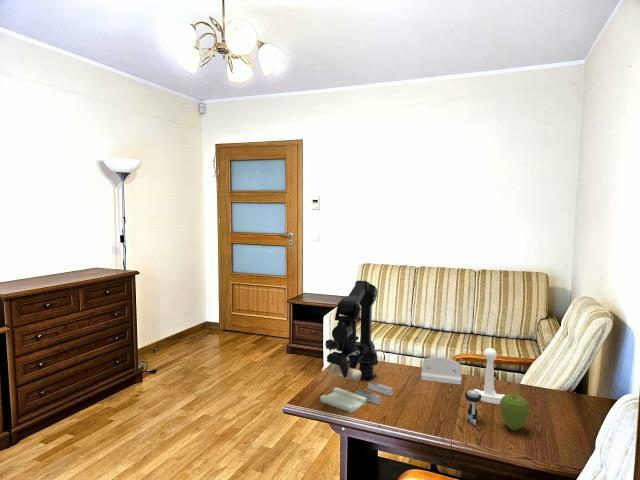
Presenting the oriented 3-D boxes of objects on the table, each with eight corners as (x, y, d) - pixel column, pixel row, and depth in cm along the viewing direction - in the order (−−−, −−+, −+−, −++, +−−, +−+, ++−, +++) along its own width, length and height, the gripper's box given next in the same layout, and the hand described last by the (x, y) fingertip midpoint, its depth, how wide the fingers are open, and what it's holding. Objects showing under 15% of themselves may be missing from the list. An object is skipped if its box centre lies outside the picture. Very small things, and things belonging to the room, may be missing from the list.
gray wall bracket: (420, 379, 174) (421, 355, 176) (421, 378, 178) (422, 355, 181) (462, 384, 169) (462, 359, 171) (461, 384, 173) (462, 359, 176)
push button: (482, 427, 136) (483, 398, 135) (466, 425, 137) (466, 396, 136) (479, 417, 143) (480, 389, 142) (462, 415, 144) (463, 388, 143)
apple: (533, 430, 134) (535, 396, 133) (518, 438, 130) (520, 403, 129) (508, 419, 141) (510, 386, 141) (493, 426, 137) (495, 392, 136)
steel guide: (370, 387, 166) (371, 381, 166) (392, 394, 160) (392, 388, 160) (355, 396, 158) (355, 390, 158) (378, 404, 152) (378, 398, 151)
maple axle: (328, 374, 155) (328, 364, 154) (335, 371, 158) (335, 361, 157) (355, 383, 147) (355, 372, 147) (361, 379, 150) (361, 369, 150)
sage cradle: (336, 392, 162) (336, 387, 162) (366, 402, 153) (366, 397, 153) (320, 401, 154) (320, 396, 154) (351, 413, 145) (351, 407, 145)
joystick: (472, 399, 156) (474, 347, 154) (475, 391, 163) (476, 341, 161) (504, 405, 151) (506, 352, 149) (505, 397, 158) (507, 346, 156)
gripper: (345, 324, 162) (345, 362, 164) (315, 335, 148) (315, 377, 149) (369, 329, 155) (369, 369, 157) (340, 342, 141) (339, 386, 142)
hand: (348, 375), depth 151 cm, fingers closed on maple axle, 4 cm apart
